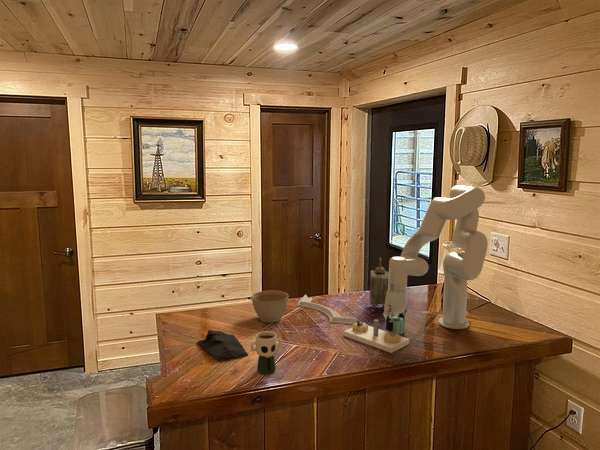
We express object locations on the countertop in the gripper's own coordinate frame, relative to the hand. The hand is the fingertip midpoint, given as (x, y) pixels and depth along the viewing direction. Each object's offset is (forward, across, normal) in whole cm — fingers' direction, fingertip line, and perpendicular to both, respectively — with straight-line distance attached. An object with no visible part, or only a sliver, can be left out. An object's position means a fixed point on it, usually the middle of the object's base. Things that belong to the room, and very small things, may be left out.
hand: (394, 327), depth 197 cm
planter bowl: (+3, +28, -47) cm, 54 cm away
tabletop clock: (+2, -18, -21) cm, 27 cm away
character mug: (+3, +62, -10) cm, 63 cm away
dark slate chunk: (+4, +61, -36) cm, 71 cm away
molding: (+3, +2, -36) cm, 37 cm away
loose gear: (+2, 0, 0) cm, 2 cm away
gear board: (+2, +13, 0) cm, 13 cm away
